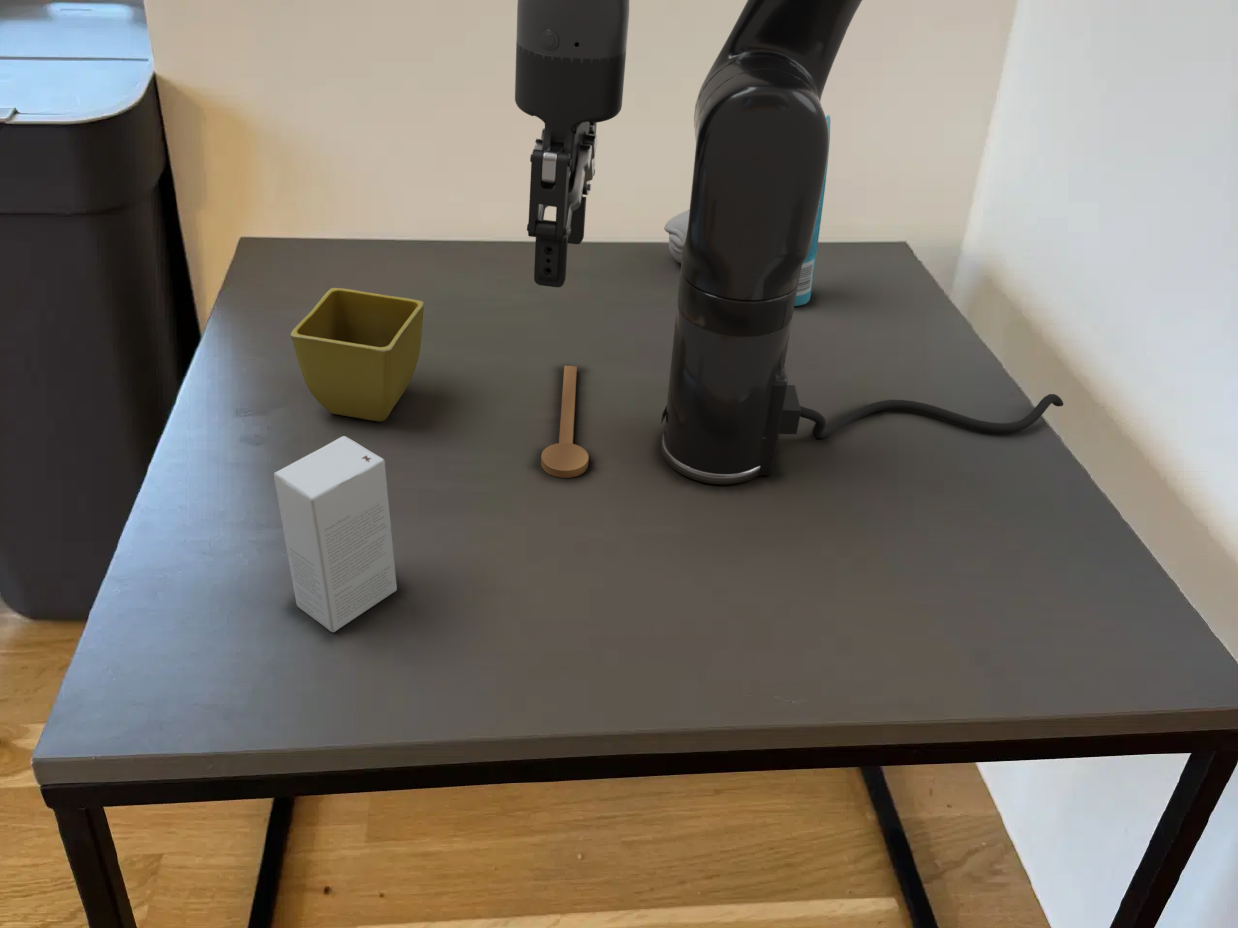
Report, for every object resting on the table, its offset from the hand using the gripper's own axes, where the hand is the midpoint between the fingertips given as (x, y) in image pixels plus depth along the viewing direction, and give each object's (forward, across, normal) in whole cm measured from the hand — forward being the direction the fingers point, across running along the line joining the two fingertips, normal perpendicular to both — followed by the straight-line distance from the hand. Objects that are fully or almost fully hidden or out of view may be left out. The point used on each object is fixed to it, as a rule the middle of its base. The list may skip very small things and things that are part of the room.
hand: (559, 262), depth 84 cm
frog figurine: (+16, +41, -9) cm, 45 cm away
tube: (+16, +35, -20) cm, 43 cm away
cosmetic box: (+20, -20, +11) cm, 30 cm away
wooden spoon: (+18, +5, -1) cm, 19 cm away
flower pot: (+18, +5, +18) cm, 26 cm away
